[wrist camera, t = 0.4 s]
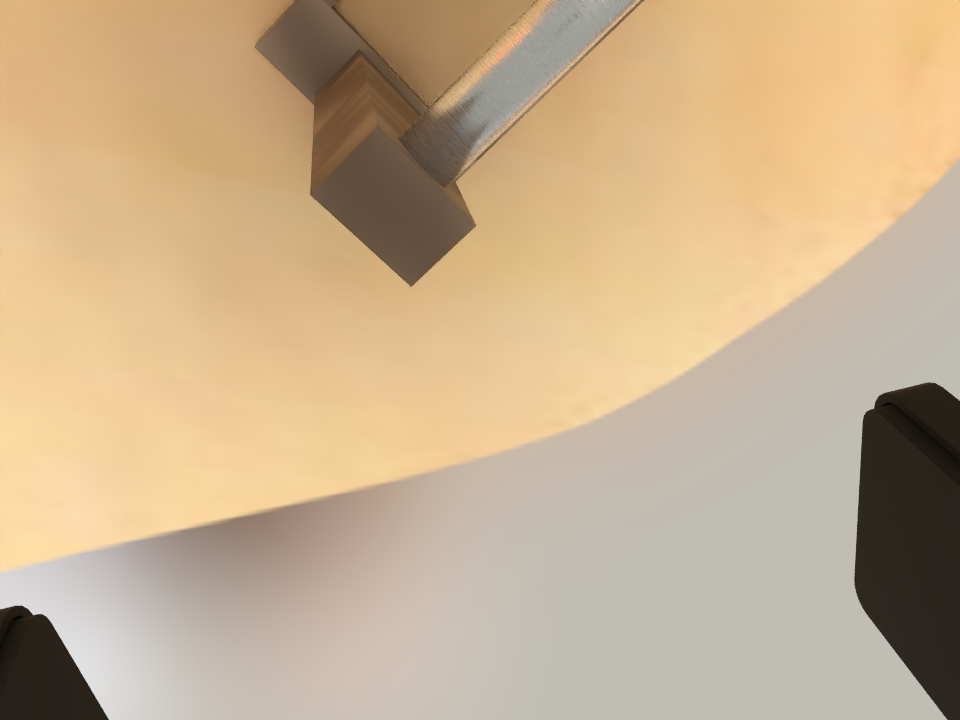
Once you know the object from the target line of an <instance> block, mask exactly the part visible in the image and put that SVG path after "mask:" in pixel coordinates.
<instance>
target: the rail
mask: <svg viewBox="0 0 960 720" xmlns="http://www.w3.org/2000/svg"><path fill="white" fill-rule="evenodd" d="M639 1H640V0H537V1H536V2H535V3H534V4H533V5H532V6H531V7H530V8H529V9H528V10H527V11H526V12H525V13H524V14H523V15H522V16H521V17H520V18H519V19H518V20H517V21H516V22H515V23H514V24H513V25H512V26H511V27H510V28H509V29H508V30H507V31H506V32H505V33H504V34H503V35H502V36H501V37H500V38H499V39H498V40H497V41H496V42H495V43H494V44H493V45H492V46H491V47H490V48H489V49H488V50H487V51H486V52H485V53H484V54H483V55H482V56H481V57H480V58H479V59H478V60H477V61H476V62H474V63H473V64H472V65H471V66H470V67H469V68H468V69H467V70H466V71H465V72H464V73H463V74H462V75H461V76H460V77H459V78H458V79H457V80H456V81H455V82H454V83H453V84H452V85H451V86H450V87H449V88H448V89H447V90H446V91H445V92H444V93H443V94H442V95H441V96H440V97H439V98H438V99H437V100H436V101H435V102H434V103H433V104H432V105H431V106H430V107H429V108H428V109H427V110H426V111H425V112H424V113H423V114H422V115H421V116H420V117H419V118H418V119H417V120H416V121H415V122H414V123H413V124H412V125H411V126H410V127H409V128H408V129H407V130H406V131H405V132H404V133H403V134H402V135H401V136H400V137H399V139H400V141H401V143H402V144H403V146H404V147H405V148H406V150H407V151H408V152H409V153H410V154H411V156H412V157H413V158H414V159H415V160H416V161H417V162H418V163H419V165H420V166H421V167H422V168H423V169H424V170H425V171H426V172H427V173H428V174H429V175H430V176H431V177H432V178H433V179H434V180H436V181H437V182H438V183H439V184H440V185H442V186H443V187H445V188H446V187H447V186H448V185H449V184H450V183H451V182H452V181H453V180H454V179H455V178H456V177H457V176H458V175H459V174H460V173H462V172H463V171H464V170H465V169H466V168H467V167H468V166H469V165H470V164H471V163H472V162H473V161H474V160H475V159H476V158H477V157H478V156H479V155H480V154H481V153H482V152H483V151H484V150H485V149H486V148H487V147H488V146H490V145H491V144H492V143H493V142H494V141H495V140H496V139H497V138H498V137H499V136H500V135H501V134H502V133H503V132H504V131H505V130H506V129H507V128H508V127H509V126H510V125H511V124H512V123H513V122H514V121H515V120H517V119H518V118H519V117H520V116H521V115H522V114H523V113H524V112H525V111H526V110H527V109H528V108H529V107H530V106H531V105H532V104H533V103H534V102H535V101H536V100H537V99H538V98H539V97H540V96H541V95H542V94H544V93H545V92H546V91H547V90H548V89H549V88H550V87H551V86H552V85H553V84H554V83H555V82H556V81H557V80H558V79H559V78H560V77H561V76H562V75H563V74H564V73H565V72H566V71H567V70H568V69H569V68H571V67H572V66H573V65H574V64H575V63H576V62H577V61H578V60H579V59H580V58H581V57H582V56H583V55H584V54H585V53H586V52H587V51H588V50H589V49H590V48H591V47H592V46H593V45H594V44H595V43H596V42H598V41H599V40H600V39H601V38H602V37H603V36H604V35H605V34H606V33H607V32H608V31H609V30H610V29H611V28H612V27H613V26H614V25H615V24H616V23H617V22H618V21H619V20H620V19H621V18H622V17H623V16H625V15H626V14H627V13H628V12H629V11H630V10H631V9H632V8H633V7H634V6H635V5H636V4H637V3H638V2H639Z"/></svg>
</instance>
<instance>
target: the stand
mask: <svg viewBox="0 0 960 720" xmlns="http://www.w3.org/2000/svg"><path fill="white" fill-rule="evenodd" d="M337 1H338V0H295V1H294V2H293V3H292V5H291V6H290V7H289V8H288V9H287V10H286V11H285V12H284V13H283V14H282V15H281V17H280V18H279V19H278V20H277V21H276V22H275V23H274V24H273V25H272V26H271V27H270V28H269V30H268V31H267V32H266V33H265V34H264V35H263V36H262V37H261V38H260V39H259V40H258V42H257V44H256V46H255V48H256V49H257V50H258V51H260V52H261V53H262V54H263V55H264V56H265V57H266V58H267V59H268V60H269V61H270V62H271V63H272V64H273V65H274V66H275V67H276V68H277V69H278V70H279V71H280V72H281V73H282V74H283V75H284V76H285V77H286V78H287V79H288V80H289V81H290V82H291V83H292V84H293V85H294V86H295V87H296V88H297V89H298V90H299V91H300V92H302V93H303V94H304V95H305V96H306V97H307V98H308V99H309V100H310V101H311V102H312V103H313V104H314V105H315V110H314V130H313V151H312V171H311V192H310V195H311V196H312V197H313V198H314V199H316V200H317V201H318V202H319V203H320V204H321V205H322V206H323V207H324V208H325V209H327V210H328V211H329V212H330V213H331V214H332V215H333V216H334V217H335V218H336V219H337V220H339V221H340V222H341V223H342V224H343V225H344V226H345V227H346V228H347V229H348V230H350V231H351V232H352V233H353V234H354V235H355V236H356V237H357V238H358V239H359V240H361V241H362V242H363V243H364V244H365V245H366V246H367V247H368V248H369V249H370V250H371V251H373V252H374V253H375V254H376V255H377V256H378V257H379V258H380V259H381V260H382V261H384V262H385V263H386V264H387V265H388V266H389V267H390V268H391V269H392V270H393V271H395V272H396V273H397V274H398V275H399V276H400V277H401V278H402V279H403V280H404V281H405V282H407V283H408V284H409V285H410V286H413V285H414V284H415V283H416V282H417V281H418V280H419V279H420V278H421V277H422V276H423V275H424V274H425V273H426V272H427V271H429V270H430V269H431V268H432V267H433V266H434V265H435V264H436V263H437V262H438V261H439V260H440V259H441V258H442V257H443V256H444V255H446V254H447V253H448V252H449V251H450V250H451V249H452V248H453V247H454V246H455V245H456V244H457V243H458V242H459V241H460V240H461V239H463V238H464V237H465V236H466V235H467V234H468V233H469V232H470V231H471V230H472V229H473V228H474V227H475V226H476V224H475V222H474V220H473V218H472V216H471V214H470V212H469V210H468V207H467V205H466V203H465V201H464V199H463V197H462V195H461V193H460V191H459V189H458V186H457V184H456V181H457V180H458V179H459V178H460V177H461V176H462V175H463V174H464V173H465V172H466V171H467V170H468V169H469V168H470V167H471V166H472V165H473V164H474V163H475V162H476V161H477V160H478V159H479V158H481V157H482V156H483V155H484V154H485V153H486V152H487V151H488V150H489V149H490V148H491V147H492V146H493V145H494V144H495V143H496V142H497V141H498V140H499V139H500V138H501V137H502V136H503V135H504V134H505V133H506V132H508V131H509V130H510V129H511V128H512V127H513V126H514V125H515V124H516V123H517V122H518V121H519V120H520V119H521V118H522V117H523V116H524V115H525V114H526V113H527V112H528V111H529V110H530V109H531V108H532V107H534V106H535V105H536V104H537V103H538V102H539V101H540V100H541V99H542V98H543V97H544V96H545V95H546V94H547V93H548V92H549V91H550V90H551V89H552V88H553V87H554V86H555V85H556V84H557V83H558V82H560V81H561V80H562V79H563V78H564V77H565V76H566V75H567V74H568V73H569V72H570V71H571V70H572V69H573V68H574V67H575V66H576V65H577V64H578V63H579V62H580V61H581V60H582V59H583V58H584V57H585V56H587V55H588V54H589V53H590V52H591V51H592V50H593V49H594V48H595V47H596V46H597V45H598V44H599V43H600V42H601V41H602V40H603V39H604V38H605V37H606V36H607V35H608V34H609V33H610V32H611V31H613V30H614V29H615V28H616V27H617V26H618V25H619V24H620V23H621V22H622V21H623V20H624V19H625V18H626V17H627V16H628V15H629V14H630V13H631V12H632V11H633V10H634V9H635V8H636V7H637V6H639V5H640V4H641V3H642V2H643V1H644V0H640V1H639V2H638V3H637V4H636V5H635V6H634V7H633V8H632V9H631V10H630V11H629V12H628V13H627V14H626V15H625V16H623V17H622V18H621V19H620V20H619V21H618V22H617V23H616V24H615V25H614V26H613V27H612V28H611V29H610V30H609V31H608V32H607V33H606V34H605V35H604V36H603V37H602V38H601V39H600V40H599V41H598V42H596V43H595V44H594V45H593V46H592V47H591V48H590V49H589V50H588V51H587V52H586V53H585V54H584V55H583V56H582V57H581V58H580V59H579V60H578V61H577V62H576V63H575V64H574V65H573V66H572V67H571V68H569V69H568V70H567V71H566V72H565V73H564V74H563V75H562V76H561V77H560V78H559V79H558V80H557V81H556V82H555V83H554V84H553V85H552V86H551V87H550V88H549V89H548V90H547V91H546V92H545V93H544V94H542V95H541V96H540V97H539V98H538V99H537V100H536V101H535V102H534V103H533V104H532V105H531V106H530V107H529V108H528V109H527V110H526V111H525V112H524V113H523V114H522V115H521V116H520V117H519V118H518V119H517V120H515V121H514V122H513V123H512V124H511V125H510V126H509V127H508V128H507V129H506V130H505V131H504V132H503V133H502V134H501V135H500V136H499V137H498V138H497V139H496V140H495V141H494V142H493V143H492V144H491V145H490V146H488V147H487V148H486V149H485V150H484V151H483V152H482V153H481V154H480V155H479V156H478V157H477V158H476V159H475V160H474V161H473V162H472V163H471V164H470V165H469V166H468V167H467V168H466V169H465V170H464V171H463V172H462V173H460V174H459V175H458V176H457V177H456V178H455V179H454V180H453V181H452V182H451V183H450V184H449V185H448V186H447V187H446V188H445V187H443V186H442V185H440V184H439V183H438V182H437V181H436V180H434V179H433V178H432V177H431V176H430V175H429V174H428V173H427V172H426V171H425V170H424V169H423V168H422V167H421V166H420V165H419V163H418V162H417V161H416V160H415V159H414V158H413V157H412V156H411V154H410V153H409V152H408V151H407V150H406V148H405V147H404V146H403V144H402V143H401V141H400V139H399V137H400V136H401V135H402V134H403V133H404V132H405V131H406V130H407V129H408V128H409V127H410V126H411V125H412V124H413V123H414V122H415V121H416V120H417V119H418V118H419V117H420V116H421V115H422V114H423V113H424V112H425V111H426V110H427V109H428V106H427V105H426V104H425V103H424V102H423V101H422V100H421V99H420V98H419V97H418V96H417V95H416V94H415V93H414V92H413V91H412V90H411V88H410V87H409V86H408V85H407V84H406V83H405V82H404V81H403V80H402V79H401V78H400V77H399V76H398V75H397V74H396V73H395V72H394V71H393V69H392V68H391V67H390V66H389V65H388V64H387V63H386V62H385V61H384V60H383V59H382V58H381V57H380V56H379V55H378V54H377V53H376V51H375V50H374V49H373V48H372V47H371V46H370V45H369V44H368V43H367V42H366V41H365V40H364V39H363V38H362V37H361V36H360V35H359V34H358V32H357V31H356V30H355V29H354V28H353V27H352V26H351V25H350V24H349V23H348V22H347V21H346V20H345V19H344V18H343V17H342V16H341V14H340V13H339V12H338V11H337V10H336V9H335V8H334V7H333V6H334V4H335V3H336V2H337Z"/></svg>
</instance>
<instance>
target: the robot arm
mask: <svg viewBox="0 0 960 720" xmlns="http://www.w3.org/2000/svg"><path fill="white" fill-rule="evenodd" d="M862 430H863V431H862V448H861V468H860V485H859V504H858V523H857V541H856V542H857V543H856V560H855V578H854V580H855V589H856V593H857V596H858V599H859V601H860V603H861V605H862V607H863V609H864V610H865V612H866V614H867V615H868V616H869V618H870V619H871V620H872V622H873V623H874V624H875V626H876V627H877V628H878V629H879V631H880V632H881V633H882V635H883V636H884V637H885V639H886V640H887V641H888V643H889V644H890V645H891V646H892V648H893V649H894V650H895V652H896V653H897V654H898V656H899V657H900V658H901V659H902V661H903V662H904V663H905V665H906V666H907V667H908V669H909V670H910V671H911V673H912V674H913V675H914V677H915V678H916V679H917V680H918V682H919V683H920V684H921V686H922V687H923V688H924V690H925V691H926V692H927V694H928V695H929V696H930V698H931V699H932V700H933V701H934V703H935V704H936V705H937V706H938V708H939V709H940V711H941V712H942V713H943V715H944V716H945V717H946V718H947V719H948V720H960V401H959V400H958V399H957V398H955V397H954V396H953V395H952V394H950V393H949V392H948V391H946V390H945V389H944V388H943V387H941V386H939V385H937V384H936V383H924V384H920V385H916V386H912V387H908V388H904V389H899V390H895V391H891V392H887V393H884V394H882V395H880V396H879V397H878V399H877V400H876V402H875V407H874V409H871V410H869V411H867V412H866V413H865V415H864V419H863V429H862ZM0 720H109V719H108V718H107V716H106V714H105V713H104V711H103V709H102V707H101V706H100V704H99V702H98V701H97V699H96V697H95V696H94V694H93V693H92V691H91V689H90V687H89V686H88V684H87V682H86V681H85V679H84V677H83V676H82V674H81V672H80V670H79V669H78V667H77V665H76V664H75V662H74V660H73V659H72V657H71V655H70V654H69V652H68V650H67V649H66V647H65V645H64V644H63V642H62V640H61V638H60V637H59V635H58V633H57V632H56V630H55V628H54V627H53V625H52V624H51V622H50V621H49V619H48V618H47V617H46V616H44V615H42V614H37V615H32V613H31V612H30V611H29V610H28V609H27V608H25V607H23V606H13V607H9V608H5V609H0Z"/></svg>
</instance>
